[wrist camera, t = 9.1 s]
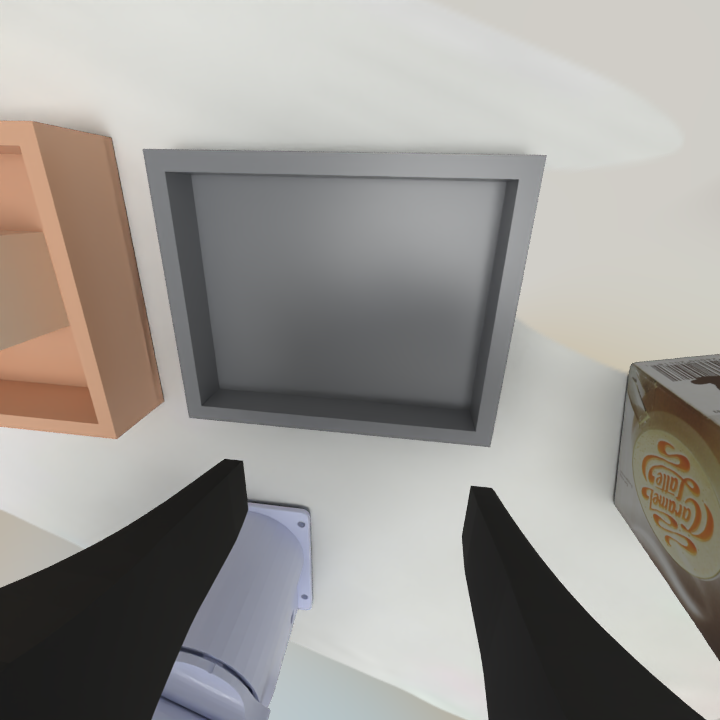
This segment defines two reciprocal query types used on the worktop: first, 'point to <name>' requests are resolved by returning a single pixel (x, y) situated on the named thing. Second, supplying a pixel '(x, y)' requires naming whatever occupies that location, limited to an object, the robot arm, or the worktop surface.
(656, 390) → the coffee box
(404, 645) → the worktop surface
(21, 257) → the stone block
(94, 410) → the bin
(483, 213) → the tray
